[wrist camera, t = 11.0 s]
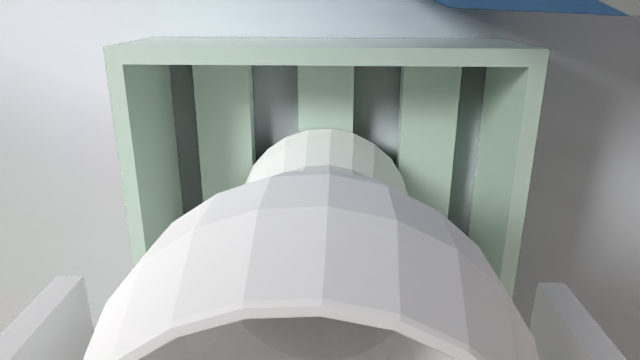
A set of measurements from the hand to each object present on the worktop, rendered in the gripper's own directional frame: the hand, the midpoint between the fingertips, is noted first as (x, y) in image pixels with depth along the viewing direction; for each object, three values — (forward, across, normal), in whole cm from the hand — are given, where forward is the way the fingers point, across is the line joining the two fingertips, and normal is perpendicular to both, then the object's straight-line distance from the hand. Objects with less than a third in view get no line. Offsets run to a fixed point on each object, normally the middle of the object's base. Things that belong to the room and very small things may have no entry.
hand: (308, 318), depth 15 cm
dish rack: (+10, 0, 0) cm, 10 cm away
